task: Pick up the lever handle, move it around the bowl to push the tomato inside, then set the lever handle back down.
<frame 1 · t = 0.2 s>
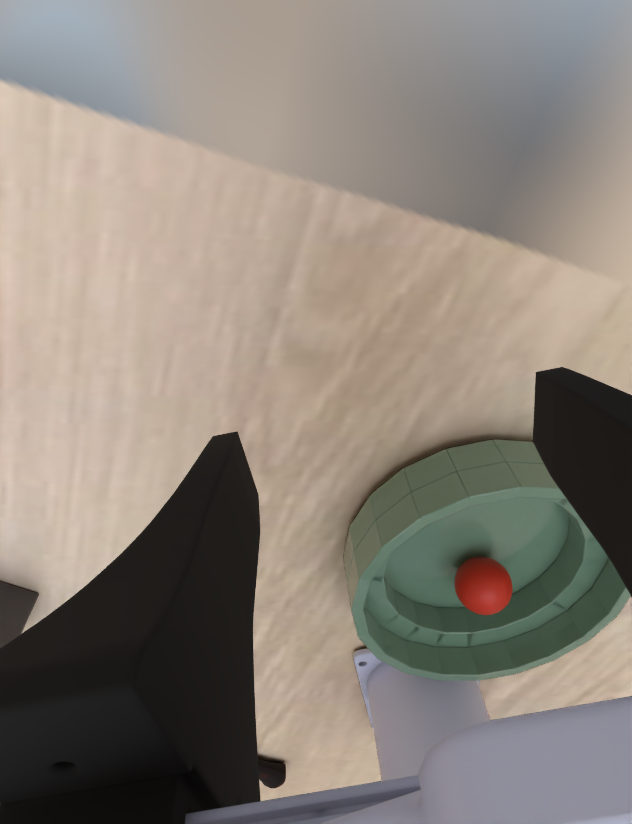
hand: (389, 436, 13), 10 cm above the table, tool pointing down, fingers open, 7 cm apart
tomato: (483, 585, 28), point 2 cm above the table, touching bowl
bowl: (470, 538, 29), on the table
knife: (169, 743, 39), on the table
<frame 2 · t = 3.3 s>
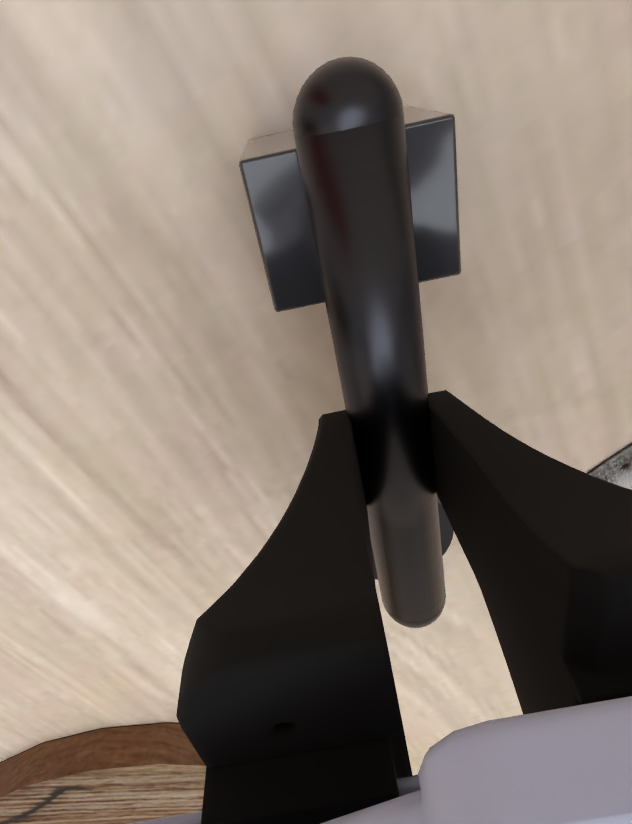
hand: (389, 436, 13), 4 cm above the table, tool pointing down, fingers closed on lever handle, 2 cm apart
ladle rest: (336, 186, 14), on the table
lever handle: (388, 516, 20), on the table, touching gripper, ladle rest
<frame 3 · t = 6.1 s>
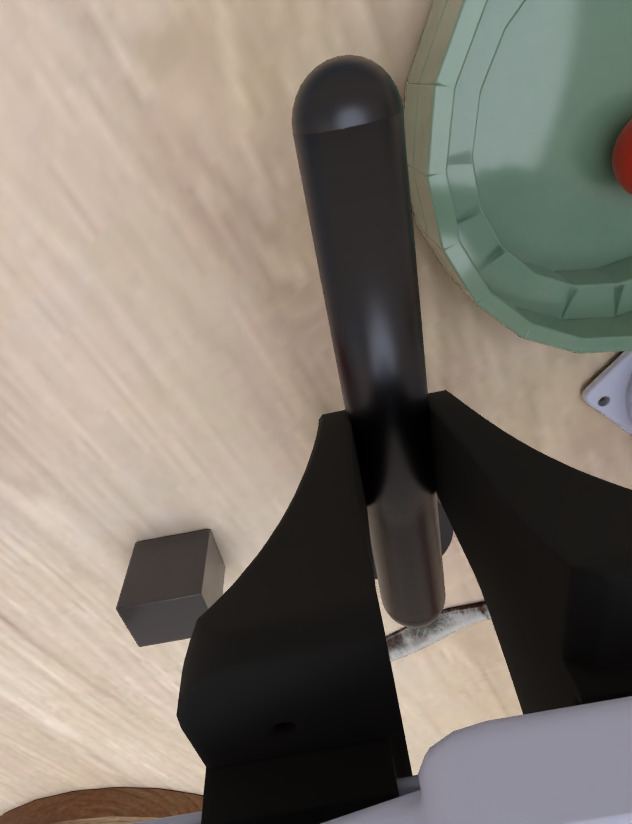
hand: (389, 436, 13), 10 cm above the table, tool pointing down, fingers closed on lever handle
bowl: (603, 116, 18), on the table
ladle rest: (181, 554, 28), on the table
knife: (473, 622, 33), on the table
lever handle: (387, 516, 20), point 5 cm above the table, touching gripper
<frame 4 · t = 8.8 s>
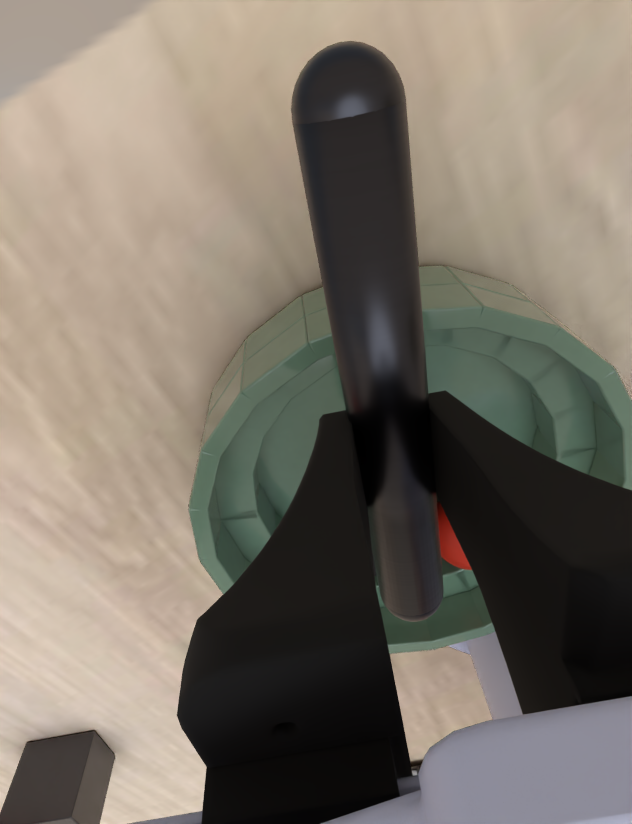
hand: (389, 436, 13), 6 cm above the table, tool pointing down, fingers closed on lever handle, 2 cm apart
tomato: (469, 528, 20), point 2 cm above the table, tilted 84°, touching bowl, lever handle
bowl: (393, 446, 20), on the table
ladle rest: (72, 749, 30), on the table
lever handle: (367, 513, 20), point 1 cm above the table, tilted 8°, touching gripper, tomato
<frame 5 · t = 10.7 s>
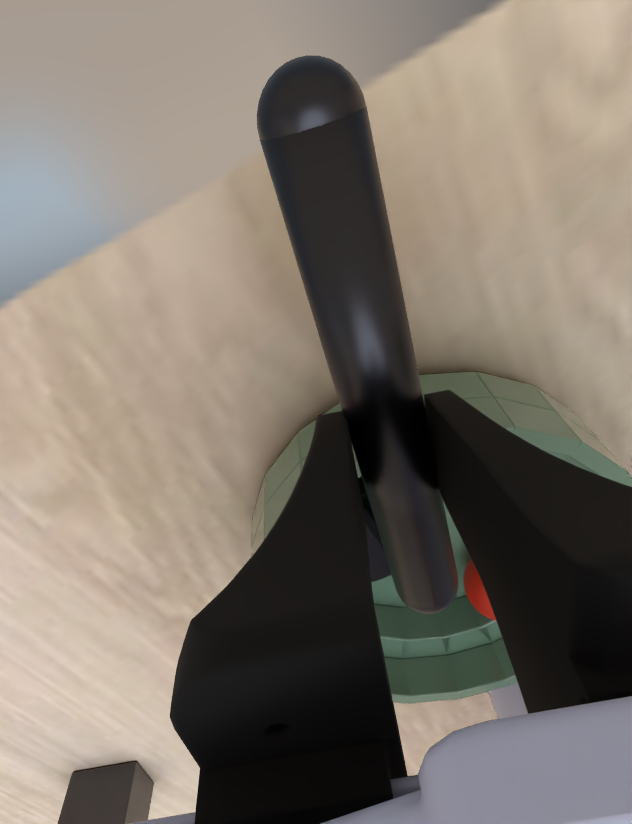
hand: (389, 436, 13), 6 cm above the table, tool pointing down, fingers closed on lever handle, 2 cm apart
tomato: (500, 583, 22), point 2 cm above the table, tilted 77°, touching bowl
bowl: (423, 515, 22), on the table
ladle rest: (114, 777, 32), on the table
lever handle: (364, 517, 20), point 1 cm above the table, tilted 17°, touching bowl, gripper
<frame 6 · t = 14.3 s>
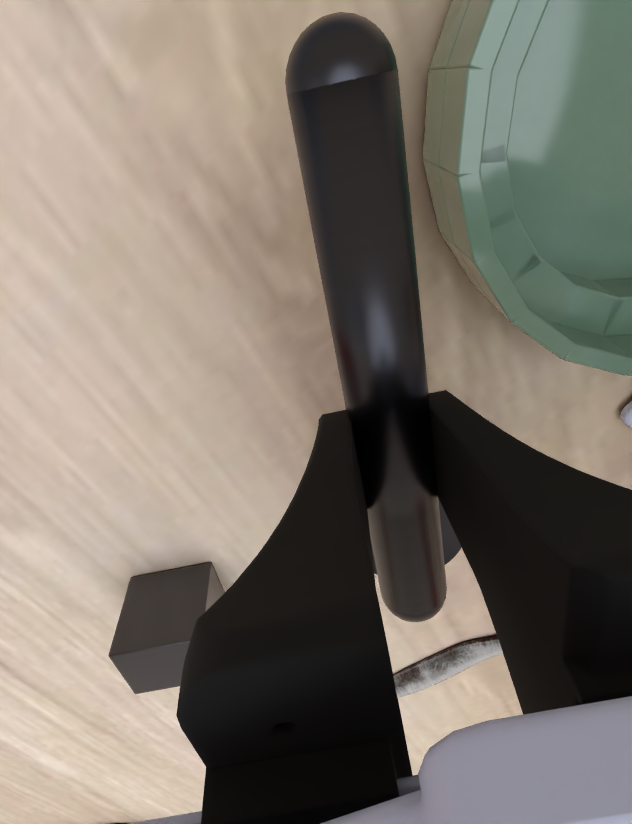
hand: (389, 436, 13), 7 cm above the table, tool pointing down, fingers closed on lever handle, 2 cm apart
ladle rest: (180, 589, 26), on the table
knife: (495, 653, 31), on the table
lever handle: (399, 512, 20), point 3 cm above the table, tilted 6°, touching gripper
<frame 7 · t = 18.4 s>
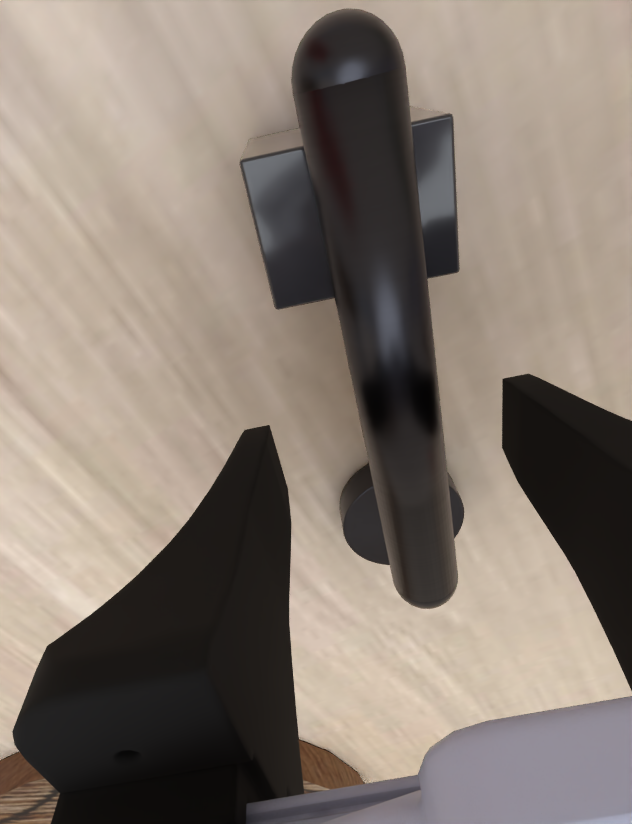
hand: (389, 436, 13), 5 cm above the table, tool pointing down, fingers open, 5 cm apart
ladle rest: (335, 185, 14), on the table
lever handle: (397, 500, 20), on the table, touching ladle rest
trivet: (177, 822, 34), on the table
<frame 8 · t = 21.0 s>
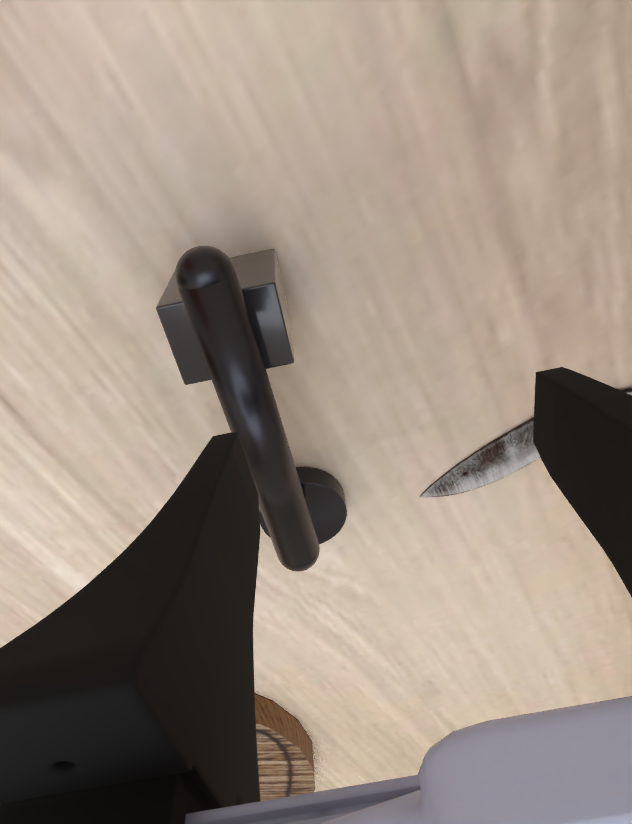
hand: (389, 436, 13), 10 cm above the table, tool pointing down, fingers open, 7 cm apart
ladle rest: (234, 294, 21), on the table
knife: (592, 429, 26), on the table
lever handle: (302, 500, 27), on the table, touching ladle rest
trivet: (153, 764, 41), on the table
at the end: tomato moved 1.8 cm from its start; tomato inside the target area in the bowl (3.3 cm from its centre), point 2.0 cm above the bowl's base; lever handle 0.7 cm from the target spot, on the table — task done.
